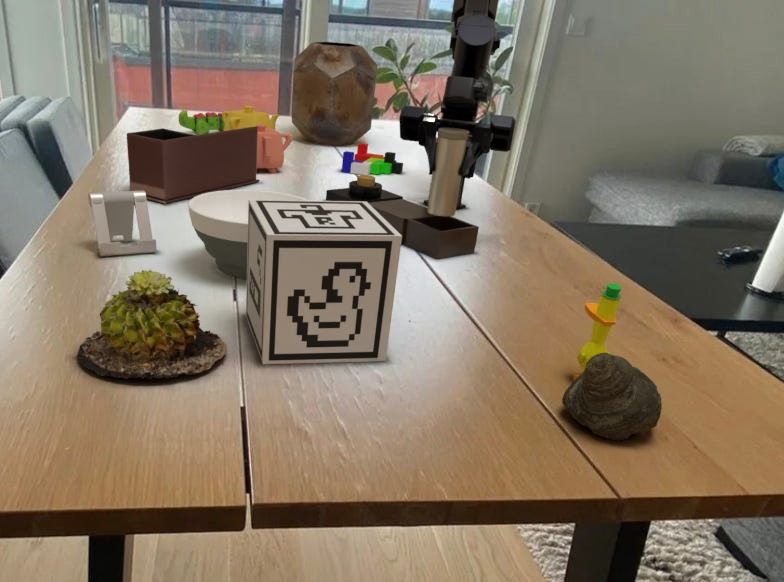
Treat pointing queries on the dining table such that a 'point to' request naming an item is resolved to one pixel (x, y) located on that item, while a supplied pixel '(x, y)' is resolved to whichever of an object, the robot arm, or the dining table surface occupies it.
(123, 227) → the tablet stand
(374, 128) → the dining table surface
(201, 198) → the bowl
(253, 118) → the teapot
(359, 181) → the button
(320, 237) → the block
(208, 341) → the cactus
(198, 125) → the toy crocodile
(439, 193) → the tin
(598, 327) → the toy figure
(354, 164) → the building blocks
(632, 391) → the seashell
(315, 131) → the planter
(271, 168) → the teapot
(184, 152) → the desk organizer
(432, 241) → the stepped brown tray
